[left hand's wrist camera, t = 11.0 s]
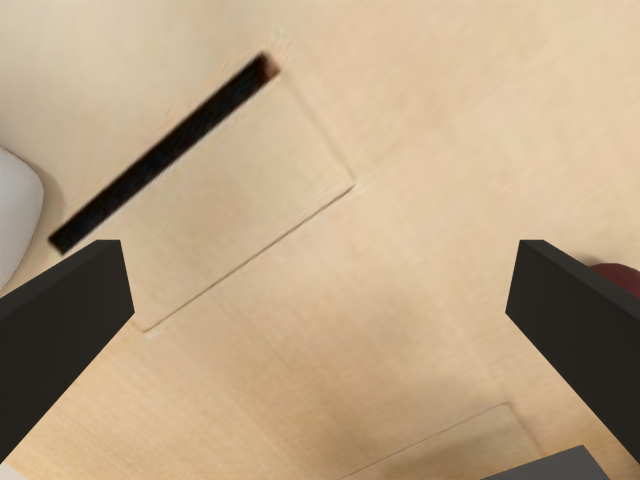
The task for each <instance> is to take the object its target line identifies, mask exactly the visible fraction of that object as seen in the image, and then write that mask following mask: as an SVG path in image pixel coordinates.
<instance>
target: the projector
mask: <svg viewBox="0 0 640 480" xmlns="http://www.w3.org/2000/svg"><path fill="white" fill-rule="evenodd" d="M43 199H44V188H43V184H42V182H41V180H40V178H39V176H38V175H37V174H36V173H35V172H34V171H33V170H32V169H31V168H30V167H29V166H28V165H27V164H26V163H24V162H23V161H22V160H20V159H19V158H17V157H16V156H14V155H12V154H11V153H9V152H7V151H6V150H4V149H2V148H0V291H1V290H2V288H3V287H4V286H5V285H6V283H7V282H8V281H9V279H10V278H11V276H12V275H13V273H14V272H15V270H16V269H17V267H18V265H19V264H20V262H21V260H22V258H23V256H24V254H25V252H26V250H27V248H28V246H29V244H30V241H31V239H32V236H33V234H34V232H35V229H36V226H37V223H38V221H39V217H40V214H41V210H42V206H43Z"/></svg>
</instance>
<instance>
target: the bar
mask: <svg viewBox="0 0 640 480" xmlns="http://www.w3.org/2000/svg"><path fill="white" fill-rule="evenodd" d="M481 480H610V479H609V477H608V476H607V475H606V474H605V472H604V471H603V470H602V468H601V467H600V466H599V465H598V463H597V462H596V461H595V459H594V458H593V457H592V456H591V454H590V453H589V452H588V450H587V449H586V448H585V447H584V445H580V446H577V447H574V448H571V449H568V450H565V451H562V452H559V453H556V454H554V455H551V456H548V457H545V458H542V459H539V460H536V461H533V462H530V463H527V464H524V465H522V466H519V467H516V468H513V469H510V470H507V471H504V472H501V473H498V474H495V475H492V476H489V477H487V478H484V479H481Z"/></svg>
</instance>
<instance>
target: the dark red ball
mask: <svg viewBox="0 0 640 480" xmlns="http://www.w3.org/2000/svg"><path fill="white" fill-rule="evenodd" d="M590 268H591V269H592V270H594V271H595V272H597V273H599V274H600V275H602V276H604V277H605V278H607V279H609V280H610V281H612V282H614V283H615V284H617V285H618V286H620V287H622V288H623V289H625V290H627V291H628V292H630V293H632V294H633V295H635V296H637V297H638V298H640V272H639V271H638V270H636V269H633V268H630V267H628V266H625V265H621V264H617V263H606V264H598V265H595V266H592V267H590Z"/></svg>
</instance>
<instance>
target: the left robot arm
mask: <svg viewBox="0 0 640 480" xmlns="http://www.w3.org/2000/svg"><path fill="white" fill-rule="evenodd" d="M134 313H135V311H134V306H133V301H132V296H131V291H130V286H129V281H128V277H127V272H126V267H125V262H124V257H123V252H122V247H121V242H120V240H96V241H94V242H92V243H91V244H89V245H87V246H86V247H84V248H82V249H81V250H79V251H77V252H76V253H74V254H73V255H71V256H69V257H68V258H66V259H64V260H63V261H61V262H59V263H58V264H56V265H54V266H53V267H51V268H49V269H48V270H46V271H45V272H43V273H41V274H40V275H38V276H36V277H35V278H33V279H31V280H30V281H28V282H26V283H25V284H23V285H22V286H20V287H18V288H17V289H15V290H13V291H12V292H10V293H8V294H7V295H5V296H3V297H2V298H0V464H1V463H2V462H3V461H4V460H5V459H6V457H7V456H8V455H9V454H10V453H11V452H12V451H13V449H14V448H15V447H16V446H17V445H18V444H19V443H20V442H21V440H22V439H23V438H24V437H25V436H26V435H27V434H28V433H29V431H30V430H31V429H32V428H33V427H34V426H35V425H36V424H37V422H38V421H39V420H40V419H41V418H42V417H43V416H44V415H45V413H46V412H47V411H48V410H49V409H50V408H51V407H52V406H53V404H54V403H55V402H56V401H57V400H58V399H59V398H60V397H61V395H62V394H63V393H64V392H65V391H66V390H67V389H68V387H69V386H70V385H71V384H72V383H73V382H74V381H75V380H76V378H77V377H78V376H79V375H80V374H81V373H82V372H83V371H84V369H85V368H86V367H87V366H88V365H89V364H90V363H91V362H92V360H93V359H94V358H95V357H96V356H97V355H98V354H99V353H100V351H101V350H102V349H103V348H104V347H105V346H106V345H107V344H108V342H109V341H110V340H111V339H112V338H113V337H114V336H115V335H116V333H117V332H118V331H119V330H120V329H121V328H122V327H123V326H124V324H125V323H126V322H127V321H128V320H129V319H130V318H131V316H132V315H133V314H134ZM505 313H506V314H507V315H508V316H509V318H510V319H511V320H512V321H513V322H514V323H515V324H516V326H517V327H518V328H519V329H520V330H521V331H522V332H523V333H524V335H525V336H526V337H527V338H528V339H529V340H530V341H531V342H532V344H533V345H534V346H535V347H536V348H537V349H538V350H539V351H540V353H541V354H542V355H543V356H544V357H545V358H546V359H547V360H548V362H549V363H550V364H551V365H552V366H553V367H554V368H555V369H556V371H557V372H558V373H559V374H560V375H561V376H562V377H563V378H564V380H565V381H566V382H567V383H568V384H569V385H570V386H571V387H572V389H573V390H574V391H575V392H576V393H577V394H578V395H579V397H580V398H581V399H582V400H583V401H584V402H585V403H586V404H587V406H588V407H589V408H590V409H591V410H592V411H593V412H594V413H595V415H596V416H597V417H598V418H599V419H600V420H601V421H602V422H603V424H604V425H605V426H606V427H607V428H608V429H609V430H610V431H611V433H612V434H613V435H614V436H615V437H616V438H617V439H618V440H619V442H620V443H621V444H622V445H623V446H624V447H625V448H626V449H627V451H628V452H629V453H630V454H631V455H632V456H633V457H634V459H635V460H636V461H637V462H638V463H639V464H640V298H638V297H637V296H635V295H633V294H632V293H630V292H628V291H627V290H625V289H623V288H622V287H620V286H618V285H617V284H615V283H614V282H612V281H610V280H609V279H607V278H605V277H604V276H602V275H600V274H599V273H597V272H595V271H594V270H592V269H591V268H589V267H587V266H586V265H584V264H582V263H581V262H579V261H577V260H576V259H574V258H572V257H571V256H569V255H567V254H566V253H564V252H563V251H561V250H559V249H558V248H556V247H554V246H553V245H551V244H549V243H548V242H546V241H544V240H520V242H519V247H518V252H517V257H516V262H515V267H514V272H513V277H512V281H511V286H510V291H509V296H508V301H507V306H506V311H505Z"/></svg>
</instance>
